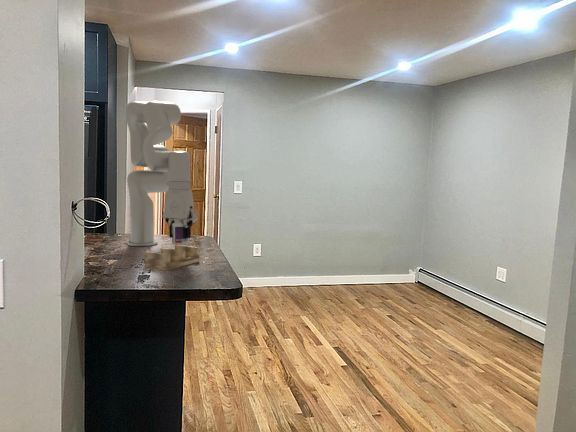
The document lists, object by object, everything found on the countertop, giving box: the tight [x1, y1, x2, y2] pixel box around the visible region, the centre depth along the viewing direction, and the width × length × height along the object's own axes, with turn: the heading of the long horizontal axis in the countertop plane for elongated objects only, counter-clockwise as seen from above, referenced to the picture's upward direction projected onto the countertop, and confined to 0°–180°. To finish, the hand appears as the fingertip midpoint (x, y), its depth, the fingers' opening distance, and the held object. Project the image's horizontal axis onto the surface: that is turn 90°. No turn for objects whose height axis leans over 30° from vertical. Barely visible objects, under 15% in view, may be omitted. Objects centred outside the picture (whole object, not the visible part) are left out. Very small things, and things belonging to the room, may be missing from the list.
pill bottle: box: [171, 219, 189, 246], centre depth 164 cm, size 5×5×10 cm
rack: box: [144, 245, 200, 271], centre depth 162 cm, size 10×17×5 cm, turn 154°
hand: (179, 237), depth 164 cm, fingers closed on pill bottle, 5 cm apart
